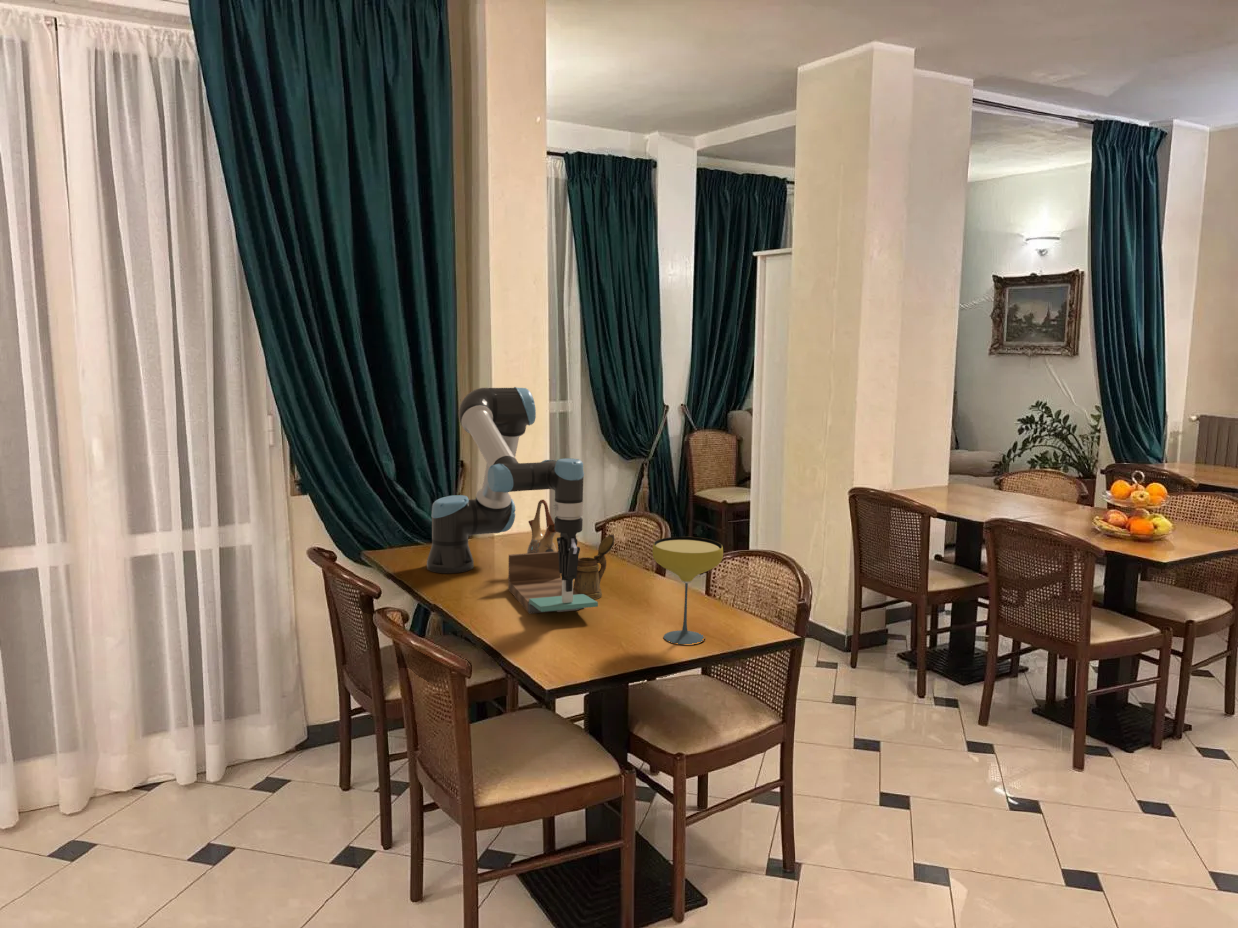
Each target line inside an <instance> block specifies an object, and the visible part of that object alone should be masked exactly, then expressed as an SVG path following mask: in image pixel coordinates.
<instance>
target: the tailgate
mask: <svg viewBox="0 0 1238 928" xmlns="http://www.w3.org/2000/svg"><path fill="white" fill-rule="evenodd" d="M529 603H530V604H531V605H533V606H534V607H535V608H537V609H538V610H539V611H541V612H542V613H545V612H544V611H553V612H557V613H561V612H571V611H572V612H573V611H574V612H575V611H579V610H580V609H579V608H584V609H585V608H586V609H587V608H596V607H598V606H599V602H598V601H597V600H596V599H595V600H593V599H591V598H590V597H588V596H586V595H584V594H578V595H573V602H570V603H563V602H562V596H555V597H543V598H532V599H529ZM555 610H556V611H555Z"/></svg>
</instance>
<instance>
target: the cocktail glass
mask: <svg viewBox="0 0 1238 928" xmlns="http://www.w3.org/2000/svg"><path fill="white" fill-rule="evenodd" d="M651 552H652V558H653V560H654V561H655V562H656V563H657V564H658V565H660V567H662V568H663V569H666V570H667V571H670V572H671V573H673V574H675V575H677V576H678V578H679V579H680V580H681V581H682V583H683V584H684V585H685V586H684V607H683V608H684V610H683V624H682V628H681V629H682V630H672V631H669V632H666V633H665V634H664V635H663V639H664V640H665V639H666V640H667V641H670V642H672V643H678V644H692V643H697V642H701V641H703V640H702V639H703V638H704V637H705V636H704V634H702V633H700V632H697V631H691V630H688V622H687V621H688V620H687V619H688V618H687V617H688V616H687V615H688V610H687V609H688V587H689V585H688V584H690V583H691V582H692V581H693V580H694V579H695V578H696V577H697V576H698V575H702V574H703V573H706V572H708V571H711V570H713V569H715V568H716V567H717V566H718V565H720V564H721V562H722V561H723V558H724V547H723V544H722V543H720V542H718V541H715V540H712V539H708V538H703V537H694V536H671V537H670V536H669V537H663V538H660V539H657V540H655V541H654V542H653V544H652V551H651ZM699 633H700V634H699ZM701 634H702V635H701ZM703 636H704V637H703ZM666 640H665V641H666ZM667 641H666V642H667ZM672 643H671V644H672Z"/></svg>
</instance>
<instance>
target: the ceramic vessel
mask: <svg viewBox="0 0 1238 928" xmlns="http://www.w3.org/2000/svg"><path fill="white" fill-rule="evenodd" d="M542 504H543V507H544V512H545V521H546V522H545V523H546V530H545V533H544V534H543V532H542V528H541V510H542V509H541V508H542ZM528 524H529V527H530V529H531V540H530V542H529V545H528V547H527V551H526V553H540V552H555V551H558V549H557V548H556V545H555V543H554V541H553V540H554V537H555V535H556V533H557V532H556V531H555V529H554V524H555V521H554V520H553V518H552V516H551V513H550V509H549V506H548V503H547V501H546V500H545V499H540V500H539V501H538V502H537V507H536V512H535V516H534V518H533V519H530V520H528Z"/></svg>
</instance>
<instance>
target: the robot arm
mask: <svg viewBox="0 0 1238 928" xmlns="http://www.w3.org/2000/svg"><path fill="white" fill-rule="evenodd" d="M536 413H537V412H536V405H535V400H534V396H533V394H532V392H531V391H530V390H529V388H526V387H517V386H514V387H478V388H476V389H474V390H472V391H470V392H469V393H468V394H466V395H465V397H464V398H463V399H462V401H461V403H460V405H459V408H458V419H459V423H460V425H461V427H462V429H463V430H464V431H465V432H467V433H468V434H470V435H471V438H472V439H473V441H474V443H475V445H476V446H477V448H478V450H479V452H480V453H481V455H482V457H483V458H484V460H485V462H486V465H485V471H484V477H483V482H482V488H480V489H478V490H477V491H476V493H475V498H473V499H469V497H468V496H467V495H465V494H464V495H463V494H459V495H455V494H454V495H448V496H444V497H440V498H438V499H435V500H434V502H433V503H432V506H431V515H430V516H431V547H430V551H429V553H428V556H427V560H426V570H428V571H430V572H432V573H436V574H437V573H438V574H459V573H464V572H468V571H471V570H472V569H474V564H475V563H474V558H473V555H472V552H471V549H470V546H469V536H472V535H473V536H475V535H485V534H500V533H506V532H508V531H509V530H510V529H511V528H512V527H513V525H514V523H515V518H516V504H515V502H514V499H513V498H512V496H511V495H510V493H513V492H514V493H515V492H522V491H523V492H525V491H526V492H527V491H541V490H542V491H543V490H553V491H554V504H553V505H552V508H553V510H554V515H555V518H554V529H555V531H556V533H559V534H560V535H559V536H560V537H557V538H556V543H557V551H558V556H559V573H560V574H561V579H562V602H563V603H570V602H573V587H574V580H575V579H576V575H577V566H578V558H579V555H580V552H581V548H580V546H577V545H578V538H577V534H578V533H581V532H583V526H584V525H583V522H584V521H583V517H582V516H583V515H584V476H585V472H584V462H583V461H582V460H581V459H579V458H567V457H566V458H559V459H557V460H555V459H544V460H542V461H537V462H522V463H519V462H518V460H517V459H516V456H517V455H516V454H517V449H518V444H519V440H520V437H521V436H523V435H524V434H525V433H526V428H527V426H532V425H533V424H534V423H535V421H536V418H537V414H536Z"/></svg>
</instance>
